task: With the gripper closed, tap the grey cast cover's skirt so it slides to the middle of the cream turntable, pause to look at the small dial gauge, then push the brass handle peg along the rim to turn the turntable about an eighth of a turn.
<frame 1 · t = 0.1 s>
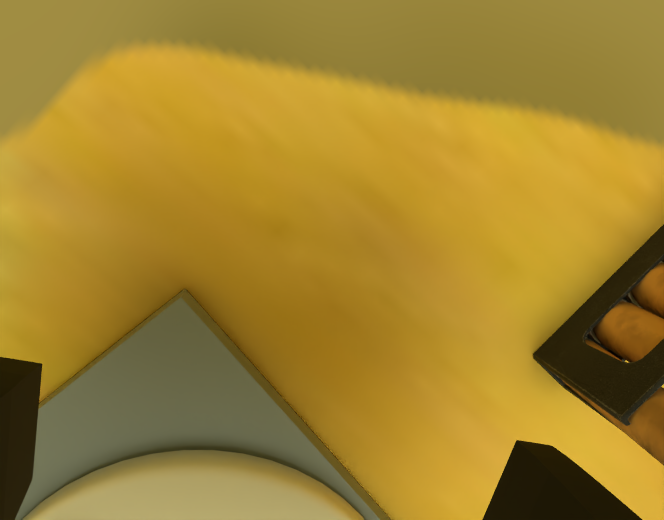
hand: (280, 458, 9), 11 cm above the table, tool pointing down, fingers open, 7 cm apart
ammunition clip: (654, 262, 21), on the table
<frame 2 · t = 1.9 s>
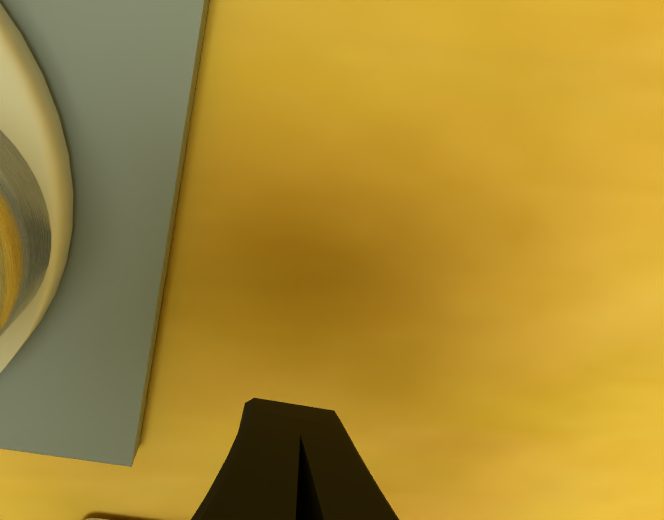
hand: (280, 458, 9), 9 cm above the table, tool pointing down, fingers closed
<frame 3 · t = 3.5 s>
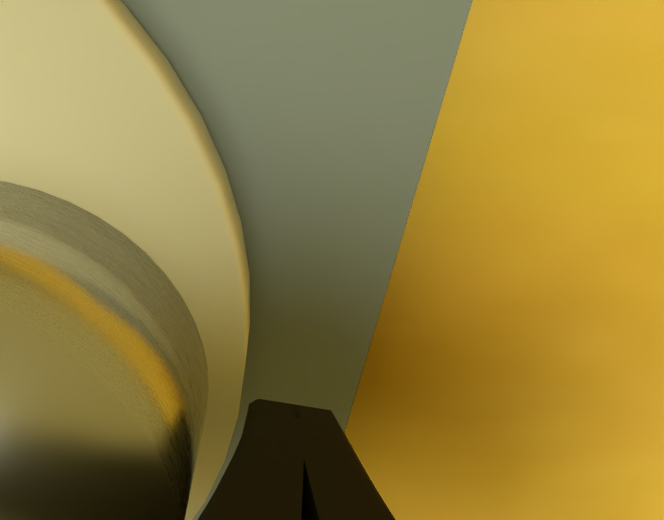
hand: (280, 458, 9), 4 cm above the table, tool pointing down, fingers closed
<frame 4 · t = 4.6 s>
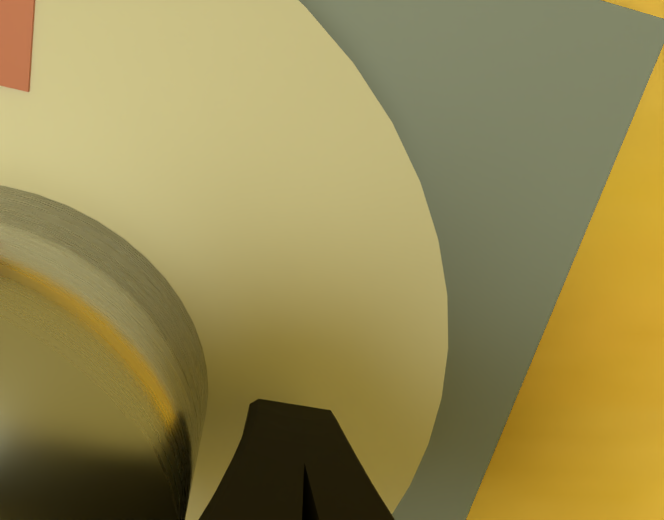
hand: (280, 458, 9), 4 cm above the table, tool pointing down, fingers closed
base plate: (50, 296, 12), on the table
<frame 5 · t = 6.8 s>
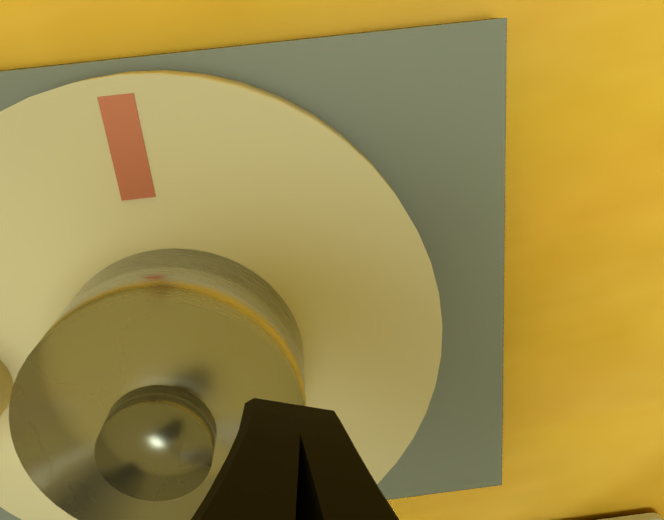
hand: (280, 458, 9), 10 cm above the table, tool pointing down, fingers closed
turntable: (166, 383, 15), point 4 cm above the table, hinge at 0.0°, touching cover
base plate: (190, 310, 18), on the table
cover: (183, 360, 16), point 3 cm above the table, touching turntable
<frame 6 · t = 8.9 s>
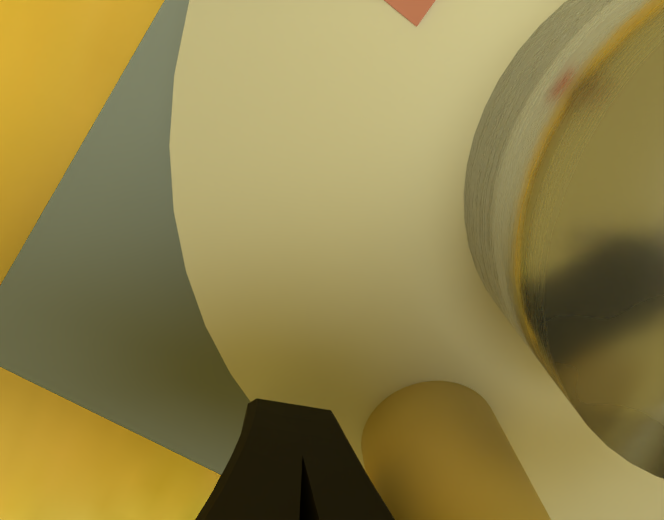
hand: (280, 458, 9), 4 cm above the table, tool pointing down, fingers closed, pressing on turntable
base plate: (573, 149, 12), on the table
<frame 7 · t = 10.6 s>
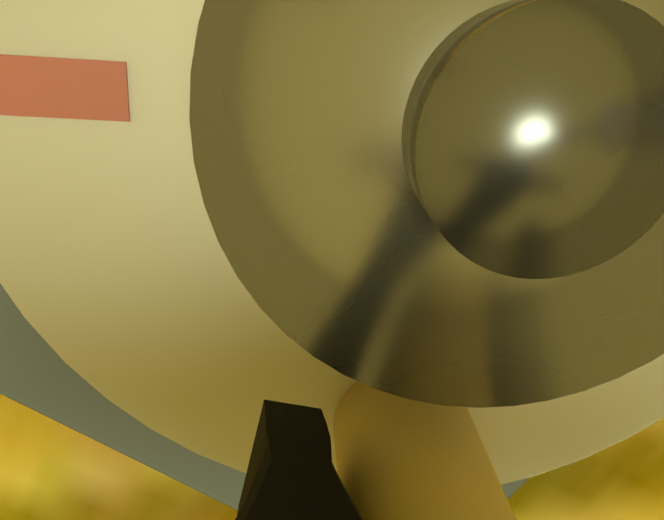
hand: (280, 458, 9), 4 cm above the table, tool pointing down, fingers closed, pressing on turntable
turntable: (462, 123, 7), point 4 cm above the table, hinge at 32.5°, touching cover, gripper
base plate: (406, 88, 11), on the table
cover: (450, 95, 9), point 3 cm above the table, touching turntable
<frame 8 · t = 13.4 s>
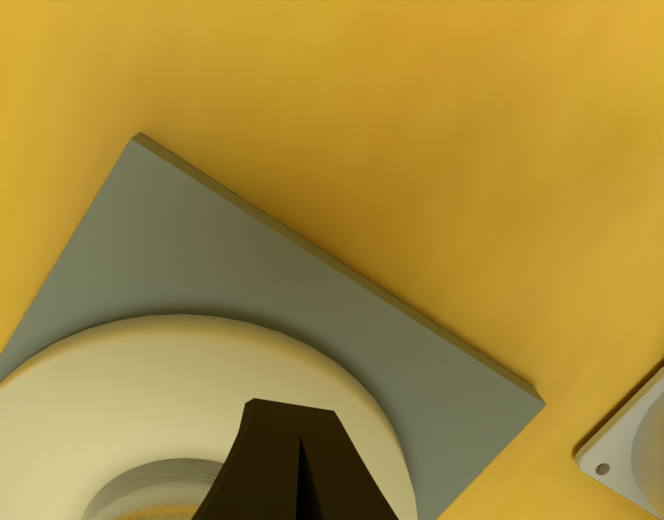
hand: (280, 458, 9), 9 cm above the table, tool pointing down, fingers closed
base plate: (196, 482, 21), on the table
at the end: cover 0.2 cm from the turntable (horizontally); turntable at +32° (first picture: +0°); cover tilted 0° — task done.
